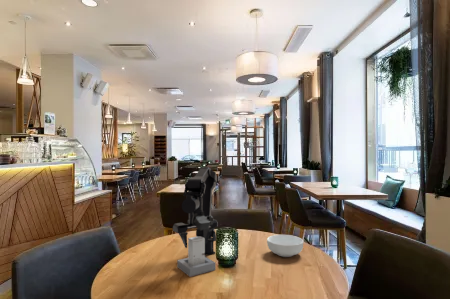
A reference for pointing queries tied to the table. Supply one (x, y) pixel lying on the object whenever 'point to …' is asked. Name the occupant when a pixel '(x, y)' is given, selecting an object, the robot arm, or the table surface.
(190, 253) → the skincare box
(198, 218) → the robot arm
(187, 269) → the ceramic holder
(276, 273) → the table surface
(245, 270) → the table surface
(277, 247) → the cereal bowl
